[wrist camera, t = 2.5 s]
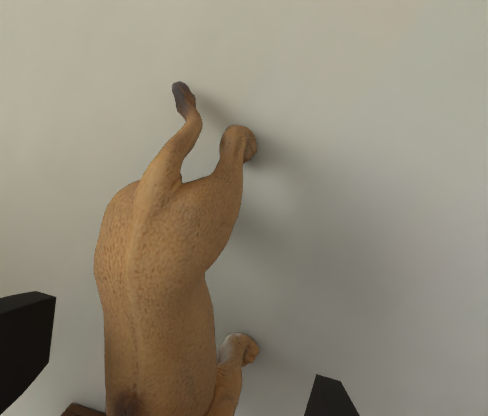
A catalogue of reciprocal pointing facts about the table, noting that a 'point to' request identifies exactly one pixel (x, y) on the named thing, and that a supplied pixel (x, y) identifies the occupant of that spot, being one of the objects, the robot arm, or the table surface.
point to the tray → (80, 411)
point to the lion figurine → (171, 281)
